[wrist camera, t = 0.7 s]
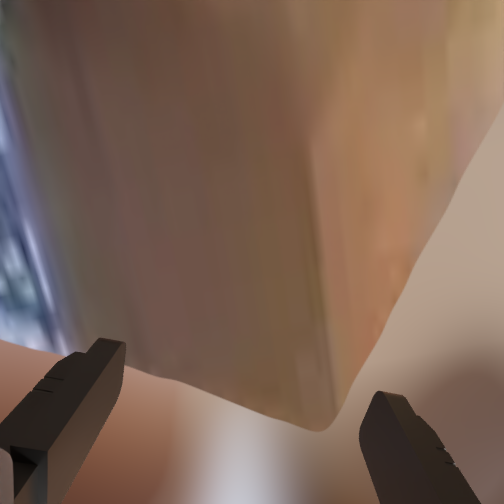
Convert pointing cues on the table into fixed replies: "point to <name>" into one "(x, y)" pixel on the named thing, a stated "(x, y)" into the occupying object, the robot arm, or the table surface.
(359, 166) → the table surface
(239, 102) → the table surface
